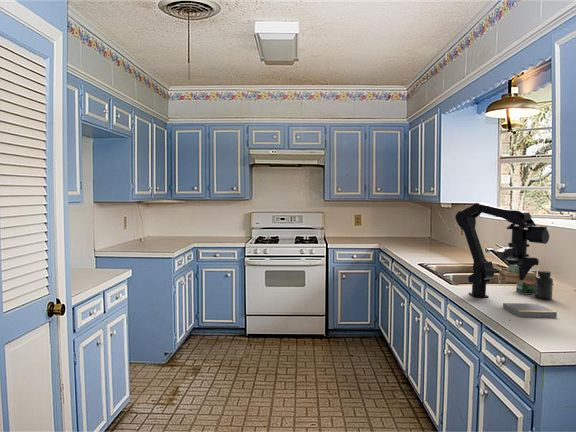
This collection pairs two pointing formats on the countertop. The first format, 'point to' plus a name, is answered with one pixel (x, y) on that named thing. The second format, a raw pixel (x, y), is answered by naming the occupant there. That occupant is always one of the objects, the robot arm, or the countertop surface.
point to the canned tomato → (526, 286)
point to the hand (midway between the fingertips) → (517, 278)
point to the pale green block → (513, 268)
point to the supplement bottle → (544, 285)
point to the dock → (529, 310)
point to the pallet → (516, 277)
